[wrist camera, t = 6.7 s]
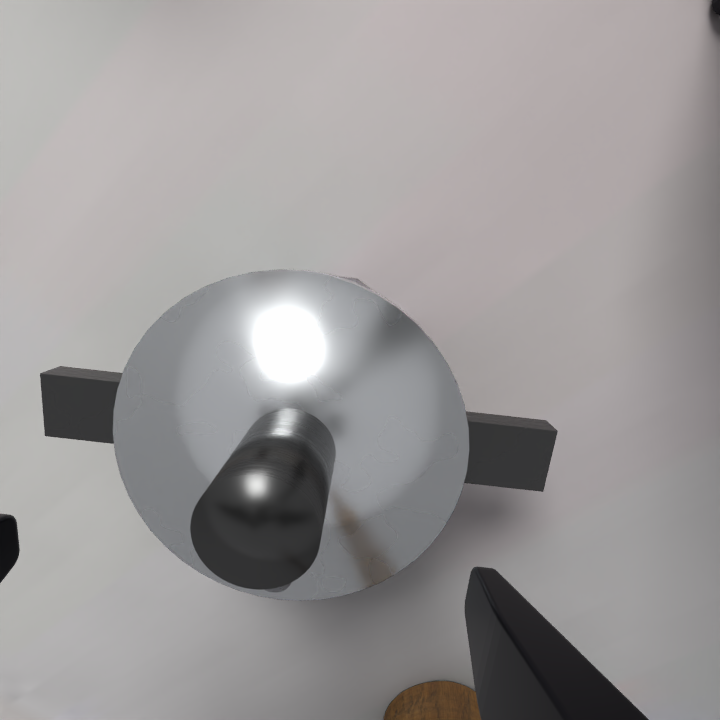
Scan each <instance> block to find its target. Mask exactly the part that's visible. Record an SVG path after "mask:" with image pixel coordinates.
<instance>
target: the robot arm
mask: <svg viewBox="0 0 720 720" xmlns="http://www.w3.org/2000/svg"><path fill="white" fill-rule="evenodd" d="M712 7H713V10H714V11H715V12H716V14H718V15H720V0H712ZM18 556H19V540H18V530H17V522H16V519H15V518H14V516H12V515H8V514H0V583H1V582H2V580H3V579H4V578H5V576H6V575H7V574H8V573H9V571H10V570H11V569H12V567H13V566H14V565H15V563H16V561H17V559H18ZM465 618H466V626H467V633H468V640H469V647H470V655H471V662H472V669H473V676H474V684H475V690H476V697H477V703H478V708H479V712H480V717H481V720H649V719H648V718H647V717H646V716H644V715H643V714H642V713H641V712H640V711H639V710H638V709H637V708H636V707H635V706H634V705H633V704H632V703H631V702H630V701H629V700H628V699H627V698H626V697H625V696H624V695H623V694H622V693H621V692H620V691H619V690H618V689H617V688H616V687H615V686H614V685H613V684H612V683H611V682H610V681H609V680H608V679H607V678H606V677H605V676H604V675H603V674H602V673H601V672H600V671H598V670H597V669H596V668H595V667H594V666H593V665H592V664H591V663H590V662H589V661H588V660H587V659H586V658H585V657H584V656H583V655H582V654H581V653H580V652H579V651H578V650H577V649H576V648H575V647H574V646H573V645H572V644H571V643H570V642H569V641H568V640H567V639H566V638H565V637H564V636H563V635H562V634H561V633H560V632H559V631H558V630H557V629H556V628H555V627H554V626H552V625H551V624H550V623H549V622H548V621H547V620H546V619H545V618H544V617H543V616H542V615H541V614H540V613H539V612H538V611H537V610H536V609H535V608H534V607H533V606H532V605H531V604H530V603H529V602H528V601H527V600H526V599H525V598H524V597H523V596H522V595H521V594H520V593H519V592H518V591H517V590H516V589H515V588H514V587H513V586H512V585H511V584H510V583H509V582H508V581H506V580H505V579H504V578H503V577H502V576H501V575H500V574H499V573H498V572H497V571H496V570H495V569H492V568H484V567H474V568H473V569H472V571H471V574H470V579H469V584H468V589H467V594H466V599H465Z"/></svg>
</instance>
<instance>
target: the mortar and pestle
mask: <svg viewBox="0 0 720 720" xmlns="http://www.w3.org/2000/svg"><path fill="white" fill-rule="evenodd" d="M384 720H481V717H480V712H479V708H478V703H477V697H476V692H475V691H473V690H472V689H470V688H468V687H466V686H464V685H461V684H458V683H454V682H449V681H433V682H427V683H422V684H419V685H416V686H413V687H411V688H409V689H407V690H405V691H403V692H402V693H401V694H399V695H398V696H397V697H396V698H395V699H394V700H393V701H392V702H391V703H390V705H389V706H388V708H387V710H386V712H385V716H384Z"/></svg>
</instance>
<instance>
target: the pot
mask: <svg viewBox="0 0 720 720" xmlns="http://www.w3.org/2000/svg"><path fill="white" fill-rule="evenodd" d="M341 278H344V279H347V280H350V281H353V282H356V283H358V284H360V285H362V286H364V287H366V288H368V289H370V288H369V287H367V286H366V285H365V284H363V283H362V282H361V281H359V280H358V279H354V278H345V277H341ZM122 374H123V373H116V372H107V371H98V370H89V369H81V368H72V367H63V366H60V367H57V368H54V369H51V370H48V371H46V372H43V373H40V378H41V391H42V403H43V416H44V429H45V436H50V437H59V438H68V439H77V440H86V441H95V442H103V443H112V444H114V438H113V413H114V406H115V400H116V394H117V389H118V386H119V383H120V380H121V377H122ZM466 416H467V422H468V427H469V457H468V466H467V473H466V477H465V481H464V483H471V484H480V485H489V486H498V487H507V488H516V489H525V490H533V491H542V492H543V490H544V486H545V482H546V477H547V473H548V469H549V465H550V461H551V456H552V452H553V448H554V444H555V440H556V435H557V430H556V429H555V428H554V427H553V426H552V425H550V424H549V423H548V422H547V421H546V420H538V419H529V418H520V417H511V416H502V415H493V414H484V413H475V412H466Z"/></svg>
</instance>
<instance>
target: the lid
mask: <svg viewBox="0 0 720 720" xmlns="http://www.w3.org/2000/svg"><path fill="white" fill-rule="evenodd" d="M113 438H114V448H115V455H116V459H117V463H118V467H119V471H120V475H121V478H122V480H123V483H124V485H125V488H126V490H127V493H128V495H129V497H130V499H131V501H132V502H133V504H134V506H135V508H136V510H137V512H138V513H139V515H140V516H141V517H142V519H143V520H144V522H145V523H146V524H147V526H148V527H149V529H150V530H151V531H152V532H153V533H154V534H155V536H156V537H157V538H158V539H159V540H160V541H161V542H162V543H163V544H164V545H165V546H166V547H167V548H168V549H169V550H170V551H171V552H173V553H174V554H175V555H176V556H177V557H178V558H180V559H181V560H182V561H183V562H185V563H186V564H188V565H189V566H191V567H192V568H194V569H195V570H197V571H198V572H200V573H201V574H203V575H205V576H207V577H209V578H211V579H213V580H215V581H216V582H218V583H221V584H223V585H226V586H228V587H231V588H233V589H236V590H239V591H242V592H246V593H249V594H253V595H257V596H262V597H268V598H274V599H281V600H299V601H302V600H320V599H327V598H333V597H339V596H344V595H347V594H351V593H354V592H357V591H361V590H364V589H366V588H368V587H371V586H373V585H376V584H378V583H380V582H382V581H384V580H386V579H387V578H389V577H391V576H393V575H394V574H396V573H398V572H400V571H401V570H402V569H404V568H405V567H406V566H408V565H409V564H410V563H412V562H413V561H414V560H416V559H417V558H418V557H419V556H420V555H421V554H422V553H423V552H424V551H425V550H426V549H427V548H428V547H429V546H430V545H431V544H432V542H433V541H434V540H435V539H436V537H437V536H438V535H439V534H440V532H441V531H442V530H443V528H444V527H445V525H446V523H447V521H448V520H449V518H450V516H451V515H452V513H453V511H454V509H455V507H456V504H457V502H458V499H459V497H460V495H461V492H462V488H463V485H464V481H465V477H466V473H467V466H468V457H469V427H468V422H467V416H466V410H465V405H464V402H463V399H462V396H461V393H460V390H459V387H458V384H457V382H456V380H455V378H454V376H453V374H452V372H451V370H450V368H449V366H448V364H447V362H446V360H445V359H444V358H443V356H442V355H441V353H440V352H439V350H438V349H437V347H436V346H435V344H434V343H433V341H432V340H431V339H430V337H429V336H428V335H427V334H426V333H425V332H424V331H423V329H422V328H421V327H420V326H419V325H418V324H417V323H416V322H415V321H414V320H413V319H412V318H411V317H410V316H409V315H407V314H406V313H405V312H404V311H403V310H401V309H400V308H399V307H398V306H397V305H395V304H394V303H392V302H391V301H389V300H388V299H386V298H384V297H383V296H381V295H380V294H378V293H377V292H375V291H373V290H371V289H368V288H366V287H364V286H362V285H360V284H358V283H356V282H353V281H350V280H347V279H344V278H341V277H337V276H334V275H331V274H326V273H320V272H314V271H309V270H291V269H279V270H268V271H258V272H251V273H247V274H242V275H238V276H234V277H229V278H226V279H223V280H221V281H218V282H216V283H213V284H210V285H208V286H205V287H203V288H201V289H199V290H198V291H196V292H194V293H192V294H191V295H189V296H187V297H185V298H183V299H182V300H181V301H179V302H178V303H177V304H175V305H174V306H173V307H172V308H170V309H169V310H168V311H166V312H165V313H164V314H163V315H162V316H161V317H160V318H159V319H158V320H157V321H156V322H155V323H154V324H153V325H152V326H151V327H150V328H149V329H148V330H147V332H146V333H145V335H144V336H143V337H142V339H141V340H140V342H139V343H138V344H137V346H136V347H135V349H134V351H133V353H132V355H131V357H130V358H129V360H128V362H127V364H126V366H125V368H124V371H123V374H122V377H121V380H120V383H119V386H118V389H117V394H116V400H115V406H114V413H113Z"/></svg>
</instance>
